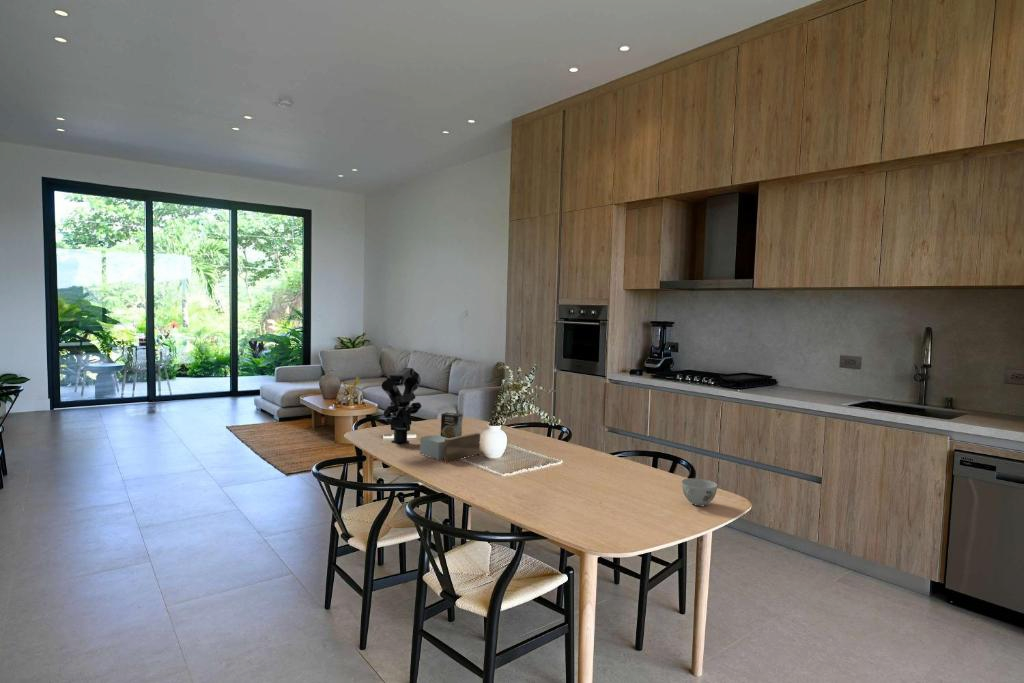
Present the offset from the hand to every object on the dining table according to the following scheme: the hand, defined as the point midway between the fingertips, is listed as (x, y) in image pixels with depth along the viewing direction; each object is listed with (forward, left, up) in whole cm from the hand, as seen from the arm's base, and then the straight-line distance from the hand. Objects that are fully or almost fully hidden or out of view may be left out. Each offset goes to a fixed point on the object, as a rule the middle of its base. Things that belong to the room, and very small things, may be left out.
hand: (410, 424), depth 261 cm
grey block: (+11, +7, -14) cm, 19 cm away
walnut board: (+22, +12, -13) cm, 29 cm away
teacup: (+125, +32, -14) cm, 129 cm away
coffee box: (+3, +24, -14) cm, 28 cm away
